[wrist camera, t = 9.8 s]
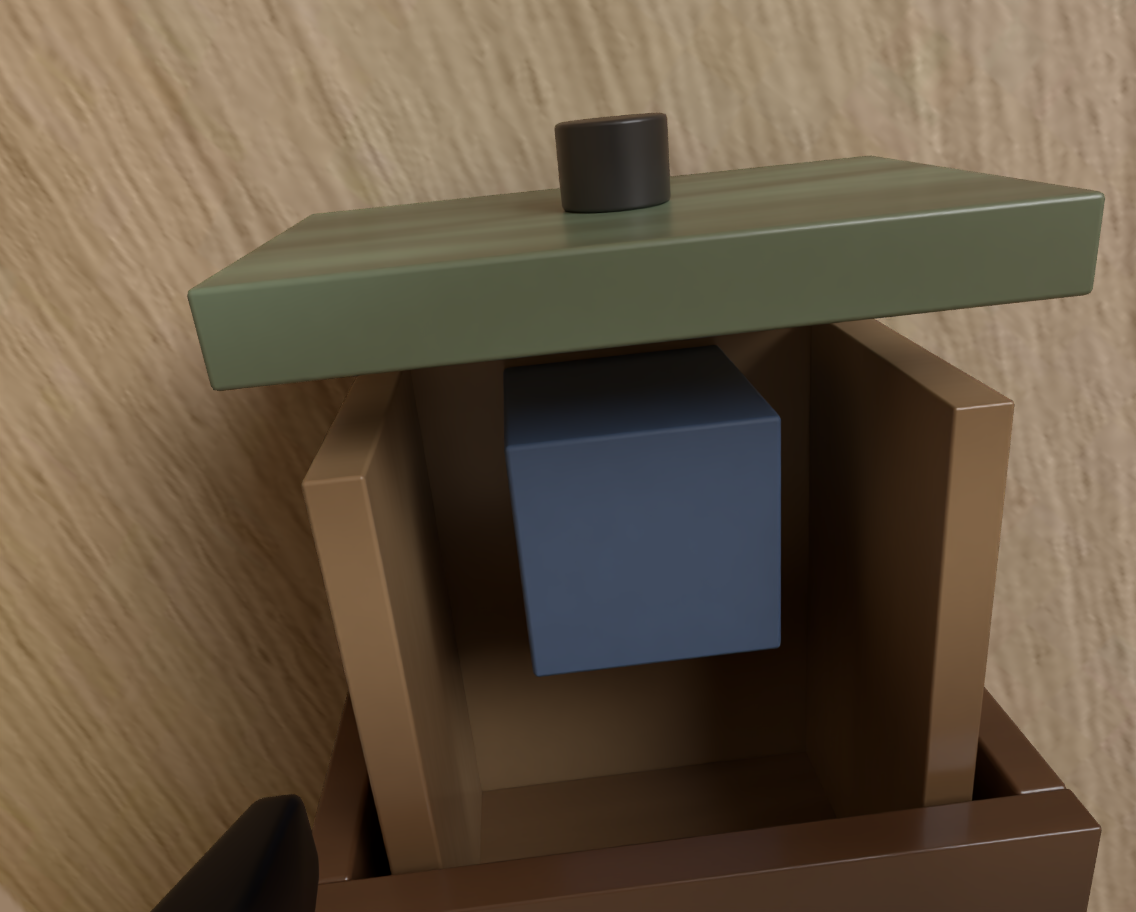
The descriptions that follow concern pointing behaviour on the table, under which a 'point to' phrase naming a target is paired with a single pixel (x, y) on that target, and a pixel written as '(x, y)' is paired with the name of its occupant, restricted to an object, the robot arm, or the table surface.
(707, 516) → the block
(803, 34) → the table surface
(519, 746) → the drawer
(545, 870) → the cabinet
